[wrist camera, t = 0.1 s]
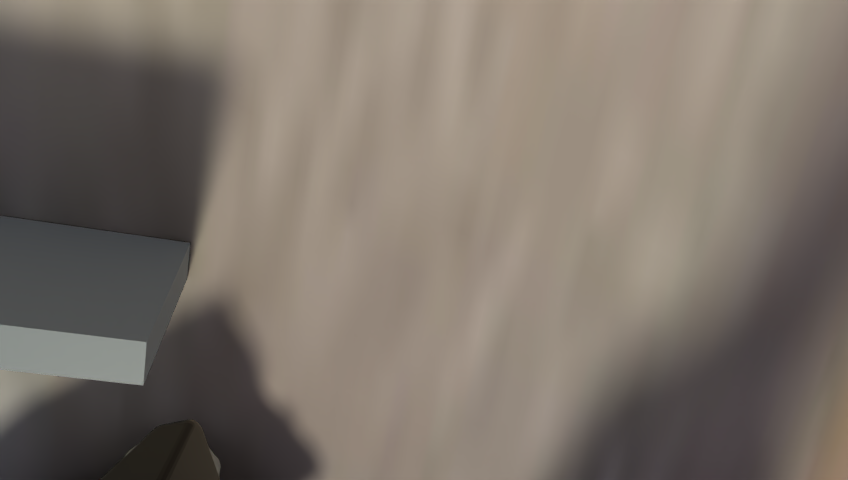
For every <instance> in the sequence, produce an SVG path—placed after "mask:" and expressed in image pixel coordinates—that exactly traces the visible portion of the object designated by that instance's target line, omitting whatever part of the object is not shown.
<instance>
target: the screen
mask: <svg viewBox="0 0 848 480" xmlns="http://www.w3.org/2000/svg"><path fill="white" fill-rule="evenodd" d="M189 253H190V243H188V242H181V241H174V240H167V239H160V238H153V237H146V236H139V235H132V234H125V233H118V232H111V231H104V230H97V229H90V228H83V227H76V226H69V225H62V224H55V223H48V222H41V221H34V220H27V219H20V218H13V217H6V216H0V370H9V371H18V372H27V373H36V374H45V375H54V376H63V377H72V378H81V379H90V380H99V381H107V382H116V383H125V384H134V385H144V383H145V380H146V378H147V375H148V373H149V371H150V368H151V366H152V363H153V361H154V358H155V356H156V353H157V351H158V349H159V346H160V344H161V341H162V339H163V336H164V334H165V331H166V329H167V327H168V324H169V322H170V319H171V317H172V314H173V312H174V309H175V307H176V305H177V302H178V300H179V297H180V295H181V292H182V290H183V287H184V285H185V283H186V280H187V274H188V263H189Z"/></svg>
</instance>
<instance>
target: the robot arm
mask: <svg viewBox="0 0 848 480" xmlns="http://www.w3.org/2000/svg"><path fill="white" fill-rule="evenodd" d="M100 480H220V478H219V474H218V472H217V469H216V466H215V463H214V460H213V458H212V455H211V452H210V449H209V446H208V444H207V441H206V438H205V435H204V432H203V430H202V428H201V426H200V425H199V423H198V422H196V421H195V420H185V421H179V422H174V423H169V424H164V425H160V426H158V427H156V428H155V429H154V430H153V431H152V432H151V433H149V434H148V435H147V436H146V437H145V438H144V439H143V440H142V441H141V442H140V443H139V444H138V445H137V446H136V447H135V448H133V449H132V450H131V451H130V452H129V453H128V454H127V455H126V456H125V457H124V458H123V459H122V460H121V461H120V462H119V463H118V464H116V465H115V466H114V467H113V468H112V469H111V470H110V471H109V472H108V473H107V474H106V475H105V476H104V477H103V478H102V479H100Z"/></svg>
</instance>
